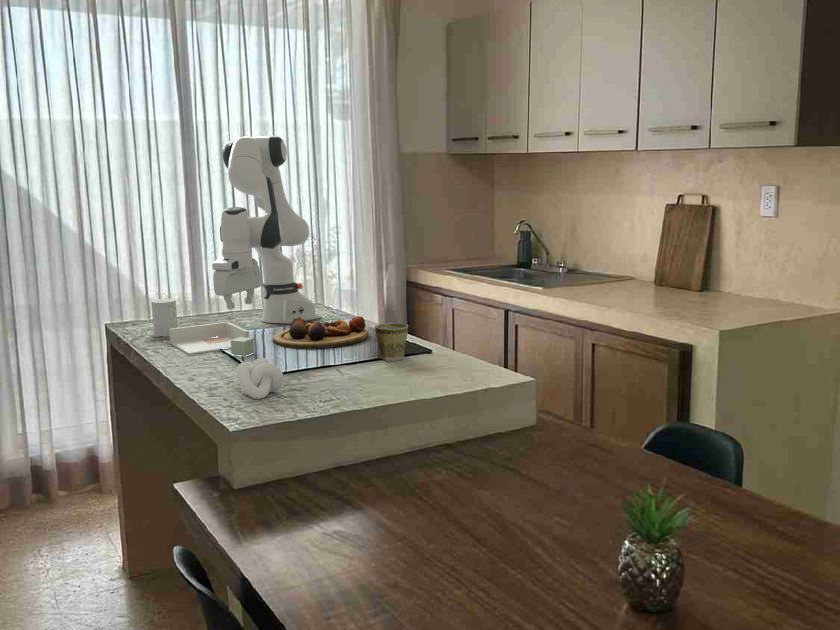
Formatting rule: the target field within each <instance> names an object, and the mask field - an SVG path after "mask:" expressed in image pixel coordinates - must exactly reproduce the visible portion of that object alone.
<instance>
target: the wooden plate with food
mask: <svg viewBox="0 0 840 630" xmlns="http://www.w3.org/2000/svg"><path fill="white" fill-rule="evenodd" d="M300 317H301V316H300ZM300 317H298V318H297V319H296V318H295V319H294V320H293V319H292V320H293V322H291V323H290V324H289V325H290V326H289V328H288V329H285V330H282V331H281V330H280V331H279V332H277V333H276V334H274V335H273V337H272V342H273V343H274V344H275V345H277V346H279V345H280V346H279V347H283V346H284V347H283V348H288V347H291V348H290V349H297V348H300V349H299V350H303V349H305V350H312V349H313V350H314V349H327V348H329V349H330V348H331V349H332V348H337V347H338V348H339V347H344V346H349V345H353V344H357V343H360V342H363V341H365V340H366V339H367V338H368V337H369V331H368V330H367V328H366V321H365V319H364V317H363V316H361V315H357V316H354V317H353V318H351V320H349V321H348V322H347V321H346V320H343V319H336V320H332V321H330V322H327V321H325V322H320V321H319V320H318V321H317V320H315V319H313V320H309V322H308V323H306V321H304V319H303V318H300Z"/></svg>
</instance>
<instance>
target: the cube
mask: <svg viewBox="0 0 840 630" xmlns="http://www.w3.org/2000/svg"><path fill="white" fill-rule="evenodd" d="M254 340H255V339H254V338H253V337H249V338H244V337H239V338H236V339H234V340H231V349H230V350H231V355H232V354H235V355H244V356H246V355H249V354H251V353H255V341H254Z"/></svg>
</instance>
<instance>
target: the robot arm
mask: <svg viewBox="0 0 840 630" xmlns="http://www.w3.org/2000/svg"><path fill="white" fill-rule="evenodd" d="M287 154H288V152H287V147H286V144H285V142H284V140H283V138H282V137H280V136H279V135H278V136H277V135H270V136H246V135H245V136H241V137H238V138H237V139H236V140H235V139H234V140H230V141H228V142H226V143H225V144H224V145H223V147H222V160H223V163H224V165H225V166H224V167H226V168H227V171H228V173H227V175H228V180H229V182H230V184H231V185H232V186H233V187H234V189H236V190H237V191H238V192H240V193H242V194H246V195H250V196H253V200H254V203H255V206H256V207H258V208H259V209H261V210H262V211H264V213H265V215H263V216H261V215H260V216H249V212H248V210H247V209H246V208H245V207H240V206H231V207H227V208H225V209H223V210H222V212H221V217H220V218H221V219H220V221H221V222H220V226H219V237H220V239H219V240H220V241H221V242H222V249H221V256H219V258H218V259H216V260H215V261H213V263H212V265H211V267H212V270H213V271H214V272H213V277H212V278H213V279H212V282H213V283H212V285H213V291H214V294H215V295H216V296H218V297H220V296H221V297H223V300H224V302H225V303H226V308H227V309H228V310H232V309H235V302H233V300H232V298H233V295H234V294H237V293H242V292H245V293H246V297H245V298H244V303H245V305H250V304H253V296H254V294H255V289H258V288H260V287H262V297H263V309H262V316H261V320H260V321H262V322H263V323H268V324H287V325H291V324H290V323H291V322H293V320H294V319H295V318H296V319H297V318H298V317H300V316H301V317H300V318H303V319H304V321H305V322H308V321H313V320H317V319H322V314H321V313H319V312H316V309H315V304H314V303H313V301H312V300H311V299H310V298H309V297H307V296H306V295H304V294H303V293H301V292H300V291H299V290H302V289H303V284H302V283H301V282H298V283H296V282H295V281H294V265H293V262H292V260H291V259H290V258H289V257H288V256H286V255H285V254H283V253H282V251H281V250H280V247H296V246H300V245H304V244H305V243H306V242H307V240H308V238H309V237H310V227H309V224H308V222H307V221H306V220H305V219H304V218H302V217H301V216H300V215H299V214H297V213H296V211H294V210H293V208H292V207H291V205H290V204H289V202H288V199H287V197H286V194H285V190H284V189H285V188H284V185H283V181H282V176H281V175H282V174H281V171H280V170H281V169H280V167H281V166H283V165H284V163H285V162H286V161H287V157H288V156H287ZM252 249H255V252H256V253H257V254H258V256H259V259H260V261H261V267H262V274H263V275H262V274H261V270H260V269H261V268H260V266H259V263H258V261H257V260H256V259H255V258H253V253H252V251H253V250H252ZM262 276H263V281H262ZM262 282H263V283H262ZM292 319H293V320H292Z"/></svg>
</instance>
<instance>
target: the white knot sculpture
mask: <svg viewBox="0 0 840 630" xmlns="http://www.w3.org/2000/svg"><path fill="white" fill-rule="evenodd" d="M236 368H237V369H236V377H237V380H238V383H239V385H240V387H241V388H240V389H241V392H242V393H243V394H244V395H247V396H250V398H252V399H255V400H262V399H264V398H266V397H267V396H268V395H269V394H270V393H269V392H273V393H275V392H278V391H279V390H281V389H282V388H283V385H284V382H285V377H284V373H283V371H282V369H281V368H280V367H279V366H278V365H276V364H274V363H271V362H270V361H269V359H267V358H265V357H259V358H257V359H255V360H254V361H253V362H252V363H251V362H249V361H247V362H246V361H243V362H241V363H239V365H238V367H236ZM261 398H262V399H261Z"/></svg>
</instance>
